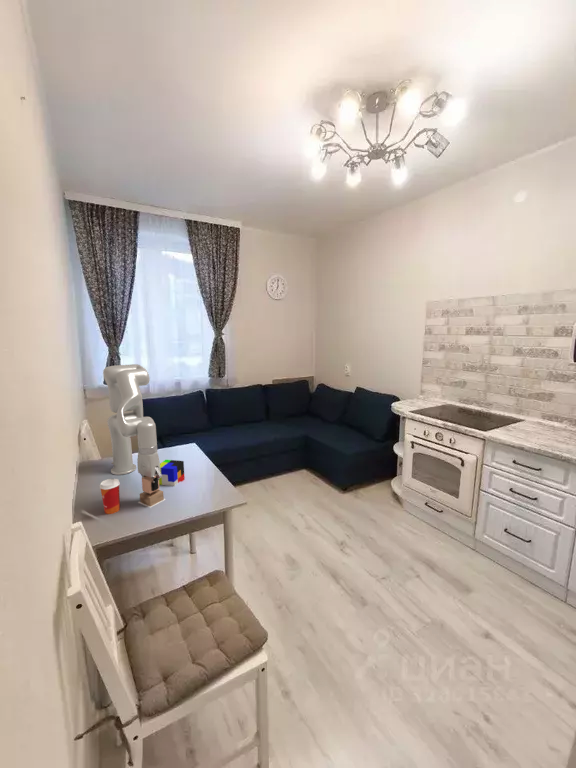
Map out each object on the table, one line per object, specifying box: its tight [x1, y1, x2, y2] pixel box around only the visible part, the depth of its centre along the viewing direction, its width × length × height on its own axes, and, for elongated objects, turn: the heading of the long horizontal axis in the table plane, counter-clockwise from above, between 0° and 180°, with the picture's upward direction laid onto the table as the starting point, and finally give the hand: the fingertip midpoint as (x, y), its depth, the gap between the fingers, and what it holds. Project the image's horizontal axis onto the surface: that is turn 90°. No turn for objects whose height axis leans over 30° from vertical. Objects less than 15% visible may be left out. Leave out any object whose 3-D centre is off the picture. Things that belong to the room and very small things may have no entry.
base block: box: [139, 489, 165, 507], centre depth 156 cm, size 7×7×4 cm
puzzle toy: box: [159, 459, 186, 487], centre depth 175 cm, size 10×10×10 cm
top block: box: [141, 476, 161, 493], centre depth 155 cm, size 5×5×6 cm
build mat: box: [137, 498, 167, 509], centre depth 158 cm, size 16×12×1 cm
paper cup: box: [98, 478, 121, 515], centre depth 147 cm, size 8×8×14 cm
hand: (151, 487), depth 155 cm, fingers closed on top block, 4 cm apart
